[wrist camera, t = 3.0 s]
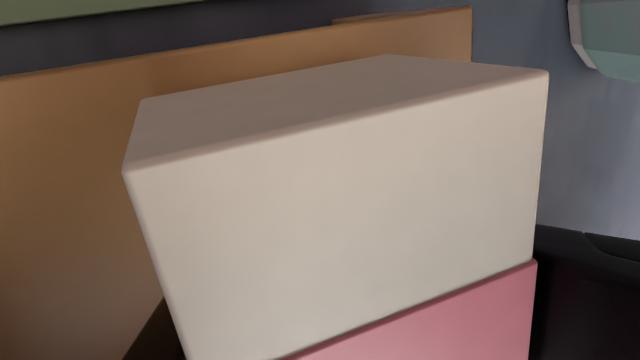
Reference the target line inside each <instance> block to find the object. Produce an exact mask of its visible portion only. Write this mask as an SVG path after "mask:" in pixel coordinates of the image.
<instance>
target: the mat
mask: <svg viewBox="0 0 640 360" xmlns="http://www.w3.org/2000/svg"><path fill="white" fill-rule="evenodd" d="M202 1H210V0H0V27H1V26H9V25H17V24H25V23H33V22H41V21H49V20H57V19H65V18H74V17H82V16H90V15H98V14H106V13H114V12H122V11H130V10H138V9H146V8H154V7H162V6H170V5H178V4H186V3H194V2H202Z"/></svg>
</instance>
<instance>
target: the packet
mask: <svg viewBox="0 0 640 360" xmlns="http://www.w3.org/2000/svg"><path fill="white" fill-rule="evenodd" d="M548 86H549V73H548V72H547V71H545V70H542V69H534V68H524V67H514V66H504V65H495V64H485V63H475V62H465V61H455V60H445V59H435V58H425V57H415V56H405V55H395V54H384V55H378V56H373V57H367V58H362V59H356V60H351V61H345V62H340V63H334V64H329V65H324V66H318V67H313V68H307V69H302V70H296V71H291V72H285V73H280V74H274V75H269V76H264V77H258V78H253V79H247V80H242V81H236V82H231V83H225V84H220V85H214V86H209V87H204V88H198V89H193V90H187V91H182V92H176V93H171V94H165V95H160V96H154V97H149V98H144V99H142V100H141V101H140V104H139V107H138V111H137V114H136V118H135V121H134V125H133V128H132V132H131V136H130V139H129V143H128V146H127V150H126V153H125V157H124V160H123V164H122V170H121V174H122V177H123V180H124V183H125V186H126V189H127V191H128V194H129V197H130V200H131V203H132V206H133V209H134V211H135V214H136V217H137V220H138V223H139V226H140V228H141V231H142V234H143V237H144V240H145V243H146V246H147V248H148V251H149V254H150V257H151V260H152V263H153V266H154V268H155V271H156V274H157V277H158V280H159V283H160V285H161V288H162V291H163V294H164V297H165V300H166V303H167V305H168V308H169V311H170V314H171V317H172V320H173V323H174V325H175V328H176V331H177V334H178V337H179V340H180V342H181V345H182V348H183V351H184V354H185V357H186V360H528V354H529V344H530V334H531V325H532V315H533V305H534V295H535V286H536V276H537V266H538V263H537V261H536V260H535V259H534V258H532V254H533V244H534V233H535V223H536V212H537V202H538V191H539V181H540V170H541V160H542V149H543V139H544V128H545V118H546V107H547V97H548Z"/></svg>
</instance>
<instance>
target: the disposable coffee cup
mask: <svg viewBox="0 0 640 360" xmlns="http://www.w3.org/2000/svg"><path fill="white" fill-rule="evenodd" d="M567 6H568V17H569V27H570V38H571V44H572V46H573V47H574V49H575V50H576V51H577V53H578V54H579V56H580V57H581V59H582V60H583V61H584V63H585V64H586V66H587V67H590V68H594V69H597V70H598V71H599V73H600V74H601V75H603V76H608V77H612V78H616V79H621V80H625V81H630V82H634V83H638V84H640V0H569V1H568V5H567Z"/></svg>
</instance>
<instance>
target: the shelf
mask: <svg viewBox="0 0 640 360" xmlns="http://www.w3.org/2000/svg"><path fill="white" fill-rule="evenodd" d="M472 22H473V8H472V6H469V5H466V6H454V7H443V8H431V9H419V10H407V11H395V12H383V13H371V14H365V15H358V16H351V17H345V18H338V19H333V20H332V25H330V26H323V27H317V28H310V29H304V30H297V31H291V32H285V33H278V34H272V35H265V36H259V37H252V38H246V39H239V40H233V41H226V42H220V43H213V44H207V45H200V46H194V47H187V48H181V49H174V50H168V51H161V52H155V53H148V54H142V55H135V56H129V57H122V58H116V59H109V60H103V61H96V62H90V63H83V64H77V65H70V66H64V67H57V68H51V69H45V70H38V71H32V72H25V73H19V74H12V75H6V76H0V360H122V359H123V357H124V356H125V354H126V352H127V351H128V349H129V348H130V346H131V345H132V343H133V342H134V340H135V339H136V337H137V336H138V334H139V333H140V331H141V330H142V328H143V327H144V325H145V324H146V322H147V321H148V319H149V318H150V316H151V315H152V313H153V312H154V310H155V309H156V307H157V306H158V304H159V303H160V301H161V300H162V298H163V296H164V294H163V291H162V288H161V285H160V283H159V280H158V277H157V274H156V271H155V268H154V266H153V263H152V260H151V257H150V254H149V251H148V248H147V246H146V243H145V240H144V237H143V234H142V231H141V228H140V226H139V223H138V220H137V217H136V214H135V211H134V209H133V206H132V203H131V200H130V197H129V194H128V191H127V189H126V186H125V183H124V180H123V177H122V174H121V170H122V164H123V160H124V157H125V153H126V150H127V146H128V143H129V139H130V136H131V132H132V128H133V125H134V121H135V118H136V114H137V111H138V107H139V104H140V101H141V100H142V99H144V98H149V97H154V96H160V95H165V94H171V93H176V92H182V91H187V90H193V89H198V88H204V87H209V86H214V85H220V84H225V83H231V82H236V81H242V80H247V79H253V78H258V77H264V76H269V75H274V74H280V73H285V72H291V71H296V70H302V69H307V68H313V67H318V66H324V65H329V64H334V63H340V62H345V61H351V60H356V59H362V58H367V57H373V56H378V55H384V54H395V55H405V56H415V57H425V58H435V59H445V60H455V61H465V62H472Z"/></svg>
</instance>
